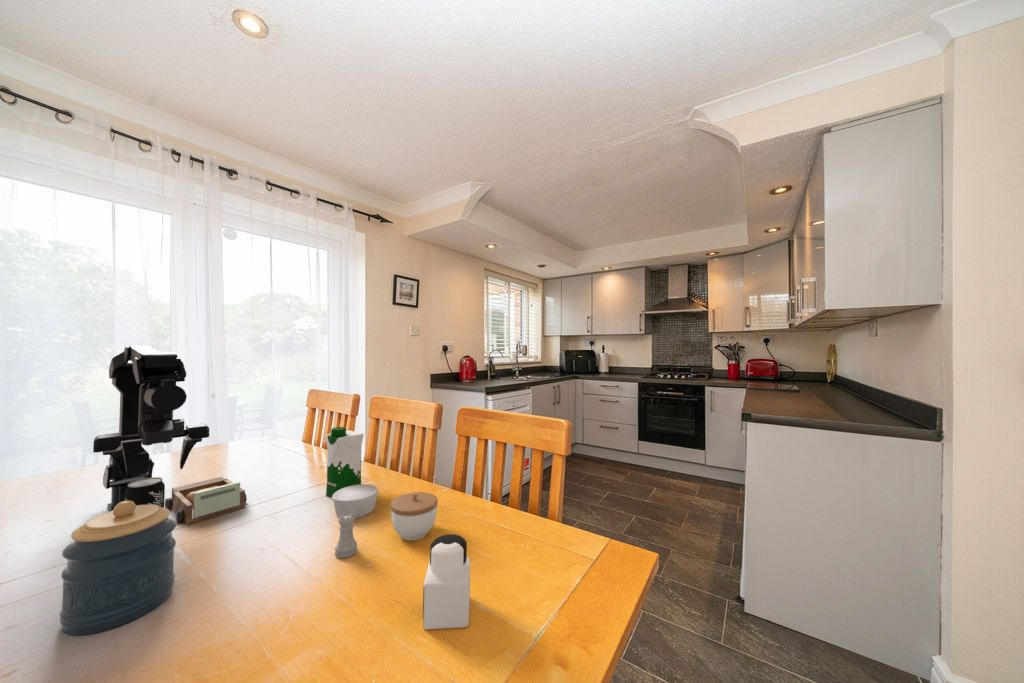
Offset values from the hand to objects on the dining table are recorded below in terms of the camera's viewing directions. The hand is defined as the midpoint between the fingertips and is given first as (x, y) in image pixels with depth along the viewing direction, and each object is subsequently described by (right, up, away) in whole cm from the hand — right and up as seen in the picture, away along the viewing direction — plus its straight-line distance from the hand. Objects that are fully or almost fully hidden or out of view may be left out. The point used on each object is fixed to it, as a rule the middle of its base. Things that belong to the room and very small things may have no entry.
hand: (154, 473), depth 83 cm
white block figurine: (+73, -15, -24) cm, 78 cm away
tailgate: (+7, -14, +10) cm, 18 cm away
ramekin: (+41, -15, +13) cm, 46 cm away
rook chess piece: (+48, -15, -7) cm, 51 cm away
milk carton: (+33, -15, +24) cm, 44 cm away
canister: (+17, -14, -23) cm, 32 cm away
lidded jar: (+60, -15, +2) cm, 62 cm away
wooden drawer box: (-1, -15, +15) cm, 21 cm away
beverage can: (-3, -15, +1) cm, 15 cm away
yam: (-2, -14, +16) cm, 21 cm away
